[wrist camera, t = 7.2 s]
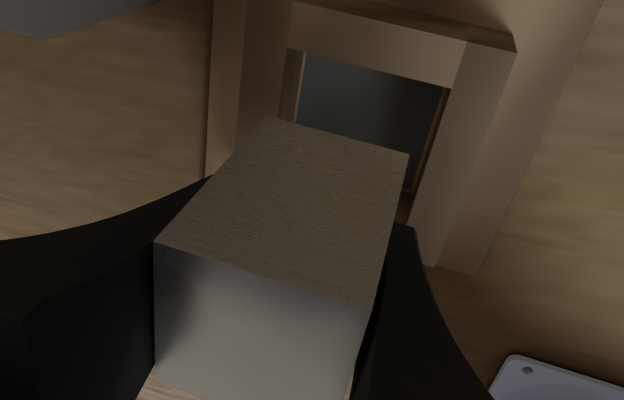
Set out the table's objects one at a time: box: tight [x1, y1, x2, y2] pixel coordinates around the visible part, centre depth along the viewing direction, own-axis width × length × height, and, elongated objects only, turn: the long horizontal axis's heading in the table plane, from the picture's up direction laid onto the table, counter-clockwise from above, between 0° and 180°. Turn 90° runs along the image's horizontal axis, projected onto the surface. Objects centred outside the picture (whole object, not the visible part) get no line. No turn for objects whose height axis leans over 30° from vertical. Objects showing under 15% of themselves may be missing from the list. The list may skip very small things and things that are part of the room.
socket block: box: [205, 0, 604, 277], centre depth 19 cm, size 13×12×3 cm
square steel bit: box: [153, 116, 410, 400], centre depth 12 cm, size 4×4×6 cm
